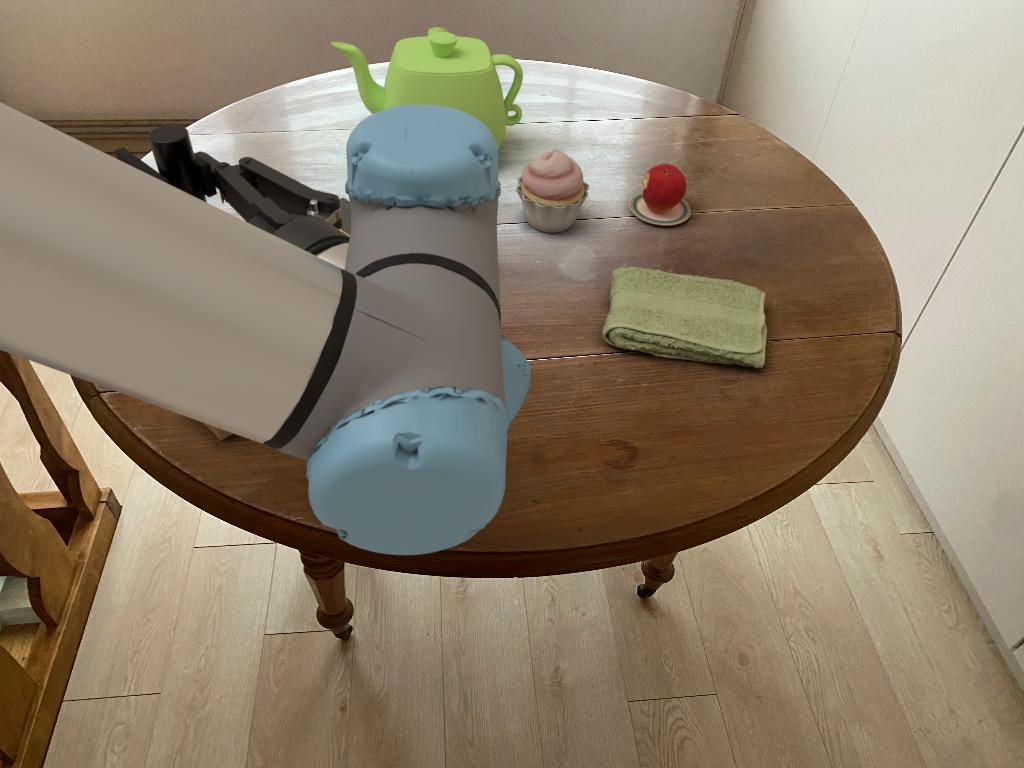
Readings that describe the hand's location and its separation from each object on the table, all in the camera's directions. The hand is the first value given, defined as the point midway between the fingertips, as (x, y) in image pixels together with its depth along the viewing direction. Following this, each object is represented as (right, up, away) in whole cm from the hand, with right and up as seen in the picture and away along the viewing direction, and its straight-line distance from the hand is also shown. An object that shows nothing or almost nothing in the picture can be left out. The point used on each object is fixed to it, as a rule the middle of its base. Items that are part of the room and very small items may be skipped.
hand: (144, 156), depth 64 cm
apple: (+49, +4, +41) cm, 64 cm away
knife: (+4, -12, +7) cm, 14 cm away
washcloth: (+49, -12, +25) cm, 56 cm away
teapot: (+18, +17, +51) cm, 57 cm away
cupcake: (+34, +3, +38) cm, 51 cm away
